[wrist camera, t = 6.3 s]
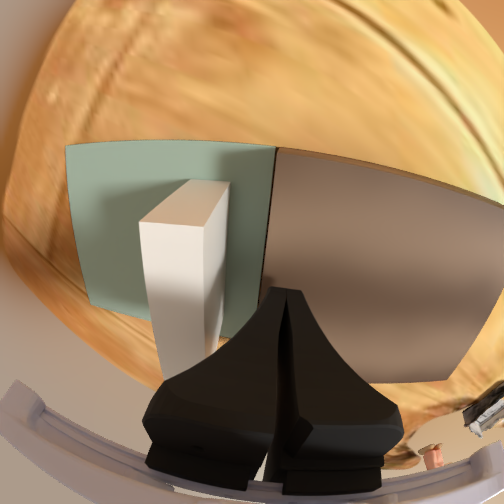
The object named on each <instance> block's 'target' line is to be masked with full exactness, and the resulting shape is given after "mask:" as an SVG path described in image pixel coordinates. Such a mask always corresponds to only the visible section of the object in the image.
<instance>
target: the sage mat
mask: <svg viewBox="0 0 504 504" xmlns="http://www.w3.org/2000/svg"><path fill="white" fill-rule="evenodd" d="M65 150H66V170H67V183H68V194H69V203H70V210H71V218H72V224H73V230H74V236H75V242H76V247H77V252H78V257H79V261H80V266H81V270H82V274H83V278H84V282H85V286H86V290H87V294H88V297H89V301H90V304H91V305H94V306H97V307H101V308H104V309H107V310H111V311H114V312H118V313H121V314H125V315H129V316H132V317H136V318H140V319H144V320H148V321H151V316H150V310H149V304H148V298H147V291H146V284H145V277H144V269H143V261H142V252H141V242H140V231H139V221H140V220H141V219H142V218H143V217H145V216H146V215H147V214H148V213H149V212H151V211H152V210H153V209H154V208H155V207H156V206H158V205H159V204H160V203H161V202H162V201H164V200H165V199H166V198H167V197H169V196H170V195H171V194H172V193H174V192H175V191H176V190H177V189H179V188H180V187H181V186H182V185H184V184H185V183H186V182H188V181H189V180H190V179H199V180H215V181H228V182H231V187H230V203H229V219H228V237H227V257H226V278H225V303H224V316H223V321H222V325H221V330H220V335H219V336H222V337H227V338H232V337H233V336H234V335H235V334H236V333H237V332H238V331H239V330H240V329H241V328H242V327H243V326H244V325H245V323H246V322H247V321H248V320H249V319H250V318H251V316H252V315H253V314H254V312H255V311H256V310H257V304H258V296H259V288H260V280H261V272H262V263H263V255H264V247H265V238H266V230H267V221H268V213H269V204H270V195H271V186H272V177H273V168H274V159H275V150H276V146H268V145H258V144H248V143H235V142H221V141H201V140H129V141H110V142H96V143H85V144H75V145H67V146H65Z"/></svg>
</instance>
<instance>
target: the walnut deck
mask: <svg viewBox="0 0 504 504" xmlns="http://www.w3.org/2000/svg"><path fill="white" fill-rule="evenodd" d="M271 286H274V287H281V288H288V289H296V290H301V291H302V292H303V294H304V296H305V299H306V301H307V303H308V305H309V307H310V309H311V311H312V313H313V315H314V317H315V319H316V321H317V323H318V324H319V326H320V328H321V329H322V331H323V333H324V334H325V336H326V337H327V339H328V340H329V342H330V343H331V345H332V346H333V347H334V349H335V350H336V351H337V352H338V354H339V355H340V356H341V357H342V359H343V360H344V361H345V362H346V363H347V364H348V365H349V366H350V367H351V368H352V369H353V370H354V371H355V372H356V373H357V374H358V375H359V376H360V377H361V378H362V379H363V380H364V381H366V382H367V383H413V382H429V381H441V380H447V379H448V378H449V376H450V375H451V374H452V372H453V371H454V370H455V368H456V367H457V366H458V364H459V363H460V361H461V360H462V359H463V357H464V356H465V354H466V353H467V351H468V350H469V348H470V347H471V345H472V344H473V342H474V341H475V339H476V337H477V336H478V334H479V333H480V331H481V329H482V328H483V326H484V324H485V322H486V321H487V319H488V317H489V315H490V313H491V312H492V310H493V308H494V306H495V304H496V302H497V300H498V298H499V296H500V294H501V292H502V290H503V288H504V205H502V204H500V203H498V202H496V201H493V200H491V199H488V198H486V197H483V196H481V195H478V194H475V193H473V192H470V191H467V190H464V189H462V188H459V187H456V186H453V185H450V184H447V183H444V182H441V181H437V180H434V179H431V178H428V177H424V176H421V175H417V174H414V173H410V172H407V171H403V170H399V169H395V168H391V167H387V166H383V165H379V164H375V163H370V162H366V161H361V160H356V159H351V158H346V157H341V156H336V155H330V154H325V153H319V152H312V151H306V150H299V149H292V148H284V147H280V148H279V150H278V152H277V158H276V168H275V176H274V185H273V194H272V203H271V211H270V220H269V228H268V237H267V245H266V253H265V261H264V269H263V277H262V285H261V293H260V300H259V305H260V304H261V302H262V300H263V299H264V297H265V295H266V293H267V290H268V288H269V287H271Z"/></svg>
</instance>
